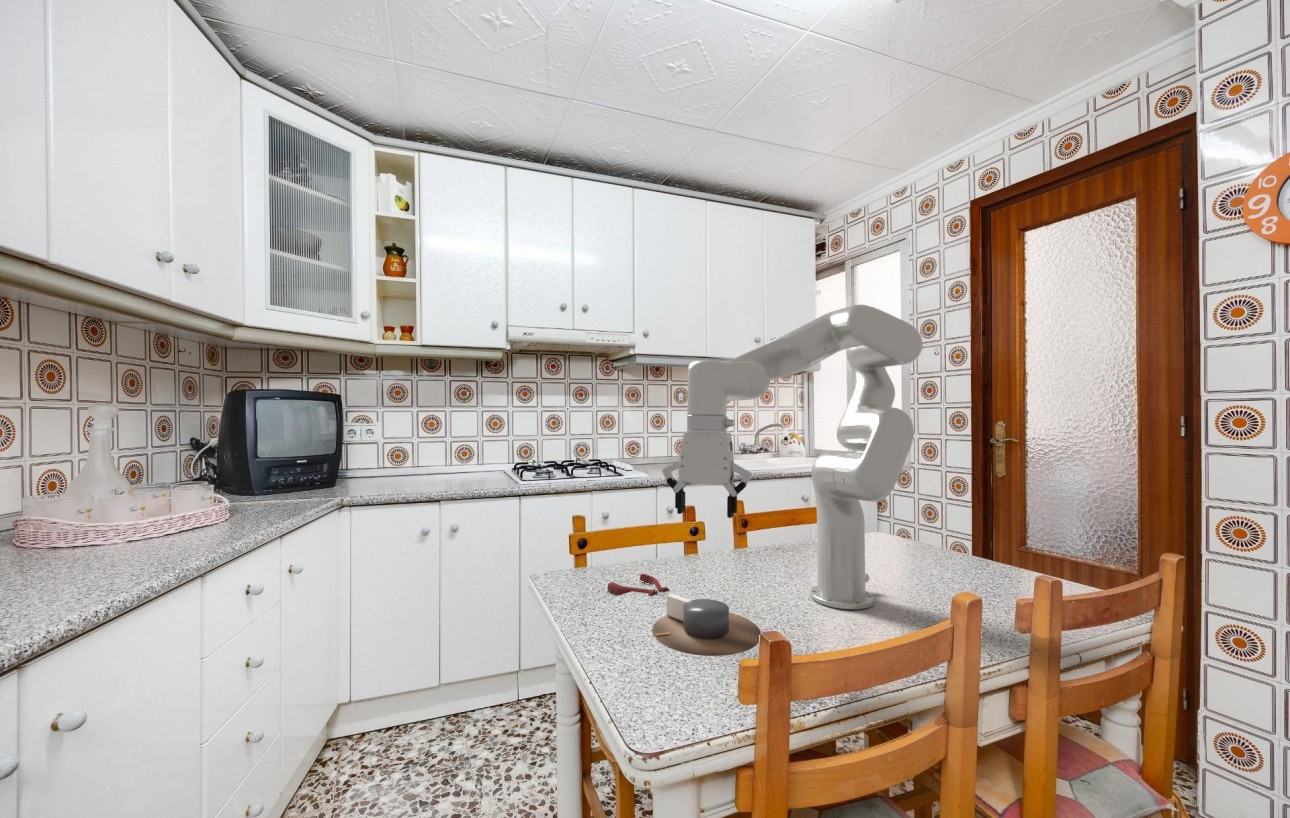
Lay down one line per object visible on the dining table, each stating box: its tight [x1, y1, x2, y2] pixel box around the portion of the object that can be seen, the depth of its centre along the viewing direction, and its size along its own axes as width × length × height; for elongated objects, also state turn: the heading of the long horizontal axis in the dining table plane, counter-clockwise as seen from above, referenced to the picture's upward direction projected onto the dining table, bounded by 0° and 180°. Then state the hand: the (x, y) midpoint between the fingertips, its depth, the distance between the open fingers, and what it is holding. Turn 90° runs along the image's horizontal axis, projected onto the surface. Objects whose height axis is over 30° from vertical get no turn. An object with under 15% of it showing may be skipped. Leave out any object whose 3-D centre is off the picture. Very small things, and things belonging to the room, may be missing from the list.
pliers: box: [606, 573, 670, 600], centre depth 109 cm, size 12×20×3 cm, turn 39°
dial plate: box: [651, 612, 762, 657], centre depth 88 cm, size 19×19×2 cm
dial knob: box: [666, 593, 730, 638], centre depth 90 cm, size 13×8×4 cm, turn 44°
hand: (705, 514), depth 95 cm, fingers open, 9 cm apart
